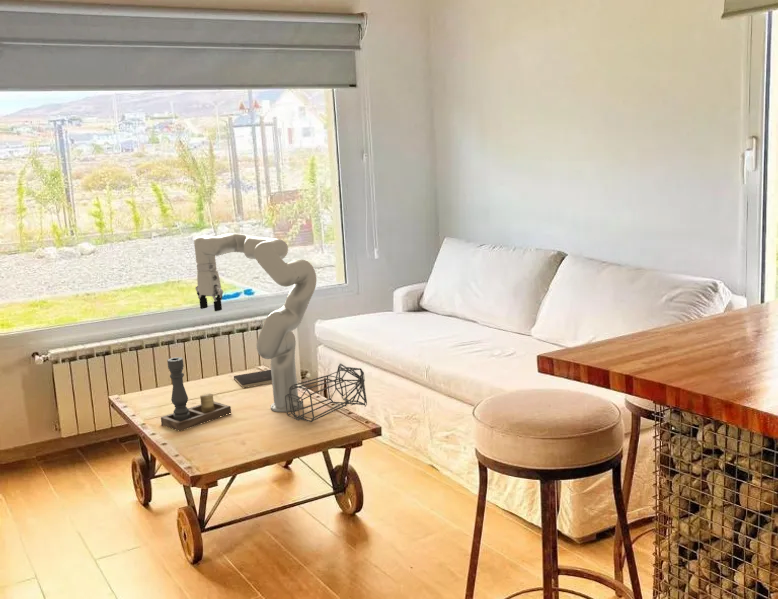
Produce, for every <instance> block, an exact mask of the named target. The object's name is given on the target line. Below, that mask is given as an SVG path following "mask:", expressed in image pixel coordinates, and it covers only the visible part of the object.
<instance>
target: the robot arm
mask: <svg viewBox="0 0 778 599" xmlns="http://www.w3.org/2000/svg"><path fill="white" fill-rule="evenodd" d="M193 244H194V254H195V263H196V270H197V271H196V272H197V273H196V275H197V277H196V278H197V279H196V280H197V286H195V291H196V295H197V296H198V297H197V298H198V299H199V308H200V310H203V309H208V308H209V305H208V298H207V297H212V299H213V309H214V310H213V311H214V312H220V311H222V310H223V307H222V301H223V299H222V298H223V294H224V291H223V289H222V286H221V279H220V275H219V273H218V272H219V271H218V270H217V262H216V257H217V256H218V257H219V256H222V255H226V254H230V253H240V254H241V253H242V254H244V256H245V257H246V258H247V259H249V260H256V262H257V263H258V264H259V265H260V267H261V268H262V269H263V270H264V271H265V272H266V273H267V274H268V276H269V277H270V278H271V279H272V280H273V281H274V282H275V283H276V284H277V285H279V286H281V287H283V288H284V287H290V286H291V287H292V288H291V289H290V291H289V292H288V294H287V297H286V299H285V301H284V304H283V305H282V306H281V307H280V308H277V309H275V310H273V311H272V312H270V313H269V314H268V315H267V317H266V318H265V319H264V320H265V321H264V323H263V325H262V328H261V330H260V332H259V334H258V337H257V340H256V345H255V346H256V348H255V349H256V351H257V353H258V355H259V356H260V357H261V358H263V359H266V360H270V370H271V375H272V383H271V385H272V396H273V402H272V403H271V405H270V409H271V411H274V412H277V413H286V402H287V412H288V411H290V402H291V398H290V402H289V396H286V395H287V394H289V388H290V387H291V386H292V385H294V384H297V383H298V380H297V379H298V378H297V369H296V344H297V342H296V341H297V340H296V337H295V334H294V332H293V331H294V330H296V329H298V328H299V326H300V325H301V323H302V321H303V318H304V316H305V314H306V312H307V308H308V306H309V304H310V301H311V299H312V296H313V294H314V293H315V290H316V286H317V274H316V270H315V269H314V266H313V265H312V263H311V262H309V261H308V260H306V259H295V260H292V261H291V260H290V261H288V262H285V261H284V260H283V259H285V258H286V256H288V253H289V247H288V244H287V242H286V241H285V240H283V239H280V238H274V237H264V236H263V237H261V236H252V235H248V234H244V233H232V232H231V233H224V234H220V235H216V236H212V235H201V236H200V235H199V236H196V237H195V238H194V239H193ZM295 386H298V385H295ZM293 388H294V387H293ZM298 390H299V389H298V388H295V389H292V391H291V394H294V395H296V396H298V397H300V395H299V392H298ZM294 395H291V396H292V397H294V398H296V399H298V397H296V396H294ZM285 396H286V402H285ZM296 399H293V398H292V401H293V407H294V410H298V402H297V400H296ZM298 401H301V399H298ZM301 408H302V401H301V402H299V409H301ZM291 411H293V410H292V404H291ZM288 413H289V412H288Z"/></svg>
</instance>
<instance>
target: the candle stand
mask: <svg viewBox="0 0 778 599" xmlns="http://www.w3.org/2000/svg"><path fill="white" fill-rule="evenodd" d="M187 408H188V409H189V411H188V412H189V413H190V418H189V419H186V420H183V421H177V420H174V418H173V415H174V412H173V413H170V414H167V415H163V416H161V417H160V420H161V422H160V423H161V426H164V427H166V426H167V428H169V427H170V428H169V429H172V428H173V430H175V429H176V431H178V430H179V431H178V432H181V430H182V431H185V430H187V428H188V429H191V428H193V427H197V426H199V425H202V424H205V423H208V422H210V421H209V420H211V421H213V420H212V419H214V420H216V419H215V418H217V419H219V418H218V417H220V416H223V415H226V414H229V413H231V414H232V409H231V408H232V407H231V406H230V405H228V404H224V403H221V402H217V401H214V394H213V393H203V394H201V395H200V404H198V405H195V406H191V407H187ZM229 415H230V414H229ZM226 416H227V415H226ZM223 417H224V416H223ZM220 418H221V417H220ZM207 421H208V422H207ZM204 422H205V423H204ZM201 423H202V424H201ZM190 427H191V428H190ZM184 429H185V430H184Z"/></svg>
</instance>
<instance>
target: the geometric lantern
mask: <svg viewBox="0 0 778 599" xmlns="http://www.w3.org/2000/svg"><path fill="white" fill-rule="evenodd" d="M356 371H360V375H359V374H358V373H357V372H356ZM341 372H344V373H343V375H342V376H341ZM346 373H348V374H350V375H351V376H353V377H354V378H356V379H344V377H345V376H346ZM334 374H336V375H335V376H334ZM329 377H331V378H335V379H330V378H329ZM364 377H365V372H364V370H363V369H362V367H351V366H346V365H344V364H342V363H339V365H338V366H337V371H335V372H332V373H330V374H328V375H323V376H319V377H316V378H312V379H308V380H306V381H301V382H299V383H298V382H297V384H294V385H292V386H291V387H290V388H289V394H287V395H286V396H289V402H290V398H291V402H290V411H288V412H287V402H286V396H285V402H286V412H285V413H286V415H287V417H290V418H292V419H294V420H296V421H299V420H302V421H306V422H309V423H313V422H314V421H317V420H319V419H321V418H323V417H325V416H327V415H330V414H332V413H333V412H336V411H338V410H339V409H342V408H344V407H347V405H350V406H355V405H359V406H364V408H365V407H367V405H368V400H367V393H366V386H365V381H366V380H365V378H364ZM324 381H326V382H324ZM320 382H322V383H320ZM346 382H347V383H349V384H346ZM317 383H318V384H317ZM329 383H333V384H331V385H329ZM342 383H344V385H343V386H342ZM313 384H315V385H313ZM326 384H327V385H326ZM295 385H297V386H295ZM310 385H312V386H310ZM323 385H326V386H327V387H324V388H321V389H320V390H316V391H314V392H312V393H311V392H310V391H309V390H310V389H312V388H316V387H320V386H323ZM337 385H339V387H337ZM352 385H354V386H352ZM306 386H309V387H306ZM349 386H352V388H350V389H349V390H347V387H349ZM293 387H294V388H293ZM333 387H334V389H335V390H334V391H333V393H332V395H330V388H333ZM295 388H297V389H302V390H304V392H303V393H302V395H301V396H299V395H298V396H299V397H298V396H296V395H294V394H291V391H292V389H295ZM343 388H344V390H345V391H344V390H343ZM339 389H341V390H339ZM326 390H327V391H328V398H327V399H325V400H321V401H318V402H315V403H313V399H312V398H313V397H312V396H313V395H315V394H318V393H320V392H323V391H326ZM336 391H337V392H338V394H340V396H341V399H342V401H344V402H342V401H334V400H332V399H333V396H334V395H335V393H336ZM355 391H356V393H355V394H354V395H353V396H352V397H350V396H351V394H352V393H354V392H355ZM306 392H307V394H309V395H308V396H306V397H303V396H304V395H305V394H306ZM344 392H345V393H344ZM361 393H362V394H363V395H362V394H361ZM291 395H294V396H296V397H298V399H300V401H298V399H296V398H294V397H292V396H291ZM344 396H345V397H344ZM349 397H350V399H348V398H349ZM356 397H357V399H356ZM292 398H293V399H296V400H297V402H298V409H297V410H294V407H293V401H292ZM307 398H309V400H310V404H309V405H307V406H304V400H305V399H307ZM360 398H361V399H362V400H363V402H362V401H359V399H360ZM355 399H356V400H355ZM301 401H302V407H301V408H300V409H299V402H301ZM327 401H330V402H327ZM325 402H327V403H325ZM322 403H325V404H322ZM291 404H292V410H293V411H291ZM319 404H322V405H320V406H318V407H316V408H314V406H315V405H319ZM331 404H335V406H333V407H331V408H329V409H327V410H325V411H323V412H321V413H319V414H317V415H315V413H314V411H317V410H319V409H321V408H323V407H325V406H328V405H331ZM310 407H311V408H310ZM308 408H310V409H311V410H309V411H306V412H304V411H305V410H304V409H308ZM300 411H302V414H301V413H300ZM296 412H298V414H296ZM310 413H311V415H312V417H308V416H306V415H308V414H310ZM291 415H292V416H291Z"/></svg>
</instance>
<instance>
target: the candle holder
mask: <svg viewBox="0 0 778 599" xmlns="http://www.w3.org/2000/svg"><path fill="white" fill-rule="evenodd" d="M184 366H185V365H184V359H183V357H171V358H168V359H167V369H168V370H169V371H170V373H171V374H170V375H169V378H170V379H171V381H172V392H171V400H170V401H171V403H172V404H173V405H174V409H173V413H174V415H173V418H174V420H177V421H183V420H186V419H189V418H190V413H189V412H188V411H189V409H188V408H189V407H187V403H188V401H189V396H188V394H187V391H186V389H185V386H184V379H183V377H184V376H185V374H184V373H183V369H184Z"/></svg>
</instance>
